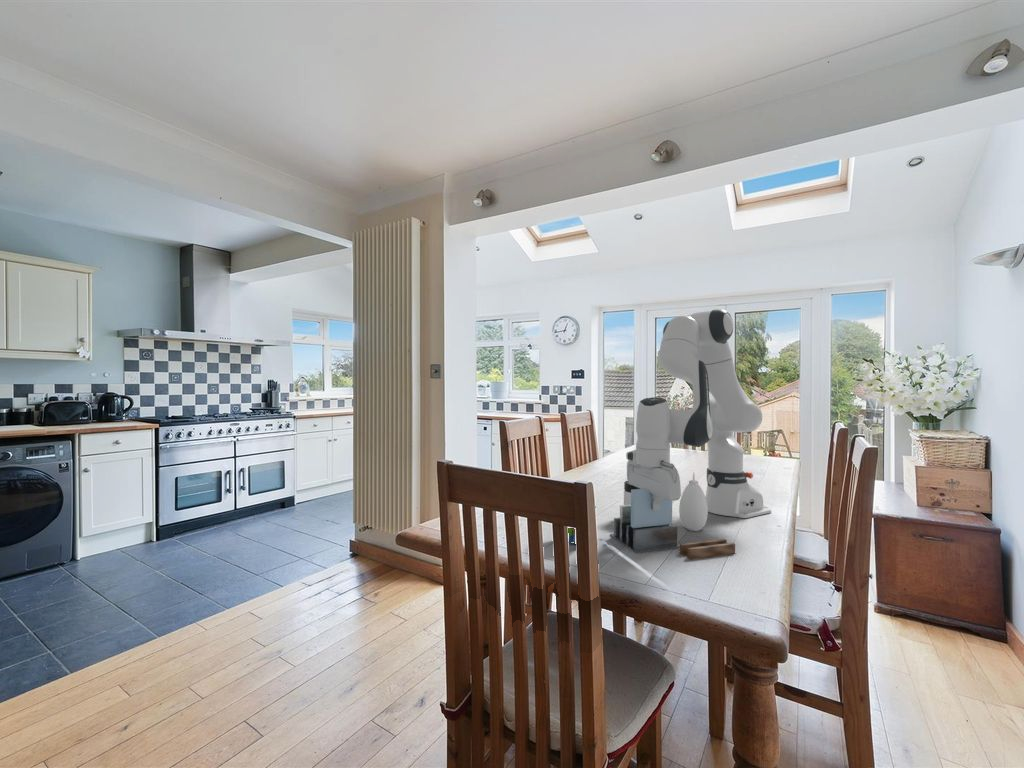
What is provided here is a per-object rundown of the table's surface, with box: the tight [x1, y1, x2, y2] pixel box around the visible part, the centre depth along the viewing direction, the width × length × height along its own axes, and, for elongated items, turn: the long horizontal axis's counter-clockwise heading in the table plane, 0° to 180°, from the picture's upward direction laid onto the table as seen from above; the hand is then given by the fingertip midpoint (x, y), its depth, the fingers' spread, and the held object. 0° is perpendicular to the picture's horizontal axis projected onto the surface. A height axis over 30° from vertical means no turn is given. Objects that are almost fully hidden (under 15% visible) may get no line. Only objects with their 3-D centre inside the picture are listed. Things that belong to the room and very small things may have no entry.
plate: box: [631, 489, 673, 528], centre depth 126 cm, size 12×1×10 cm, turn 107°
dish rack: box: [609, 504, 680, 554], centre depth 129 cm, size 14×14×10 cm
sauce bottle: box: [678, 472, 709, 532], centre depth 139 cm, size 8×8×18 cm
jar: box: [623, 480, 640, 505], centre depth 151 cm, size 9×8×12 cm
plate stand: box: [678, 538, 737, 561], centre depth 121 cm, size 14×5×3 cm, turn 107°
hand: (652, 508), depth 126 cm, fingers closed on plate, 1 cm apart
